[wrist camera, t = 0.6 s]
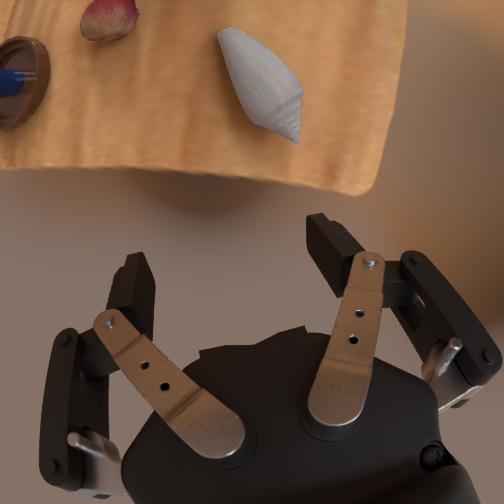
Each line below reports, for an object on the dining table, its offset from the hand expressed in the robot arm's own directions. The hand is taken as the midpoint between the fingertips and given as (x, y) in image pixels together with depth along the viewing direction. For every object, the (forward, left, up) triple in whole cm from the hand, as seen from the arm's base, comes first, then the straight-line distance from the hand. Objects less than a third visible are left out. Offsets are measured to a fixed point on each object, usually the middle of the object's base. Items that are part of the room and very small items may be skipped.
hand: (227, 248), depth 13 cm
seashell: (-9, +7, -28) cm, 30 cm away
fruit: (-22, -11, -28) cm, 37 cm away
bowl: (-20, -30, -28) cm, 46 cm away
